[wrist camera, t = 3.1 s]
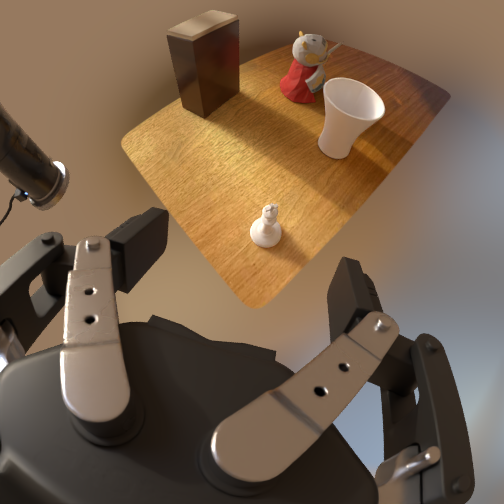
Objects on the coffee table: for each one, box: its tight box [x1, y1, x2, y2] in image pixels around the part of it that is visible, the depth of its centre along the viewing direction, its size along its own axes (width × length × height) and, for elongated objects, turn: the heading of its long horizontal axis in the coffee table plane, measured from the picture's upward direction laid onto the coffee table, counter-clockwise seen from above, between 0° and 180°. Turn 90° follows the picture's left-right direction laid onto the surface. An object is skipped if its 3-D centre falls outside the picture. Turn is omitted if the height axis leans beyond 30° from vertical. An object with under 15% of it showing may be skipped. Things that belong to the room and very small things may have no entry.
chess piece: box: [250, 203, 282, 248], centre depth 38 cm, size 5×5×10 cm
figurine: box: [280, 31, 343, 103], centre depth 45 cm, size 13×11×15 cm
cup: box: [318, 78, 385, 159], centre depth 41 cm, size 10×10×14 cm
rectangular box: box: [167, 10, 240, 119], centre depth 41 cm, size 11×6×20 cm, turn 142°
